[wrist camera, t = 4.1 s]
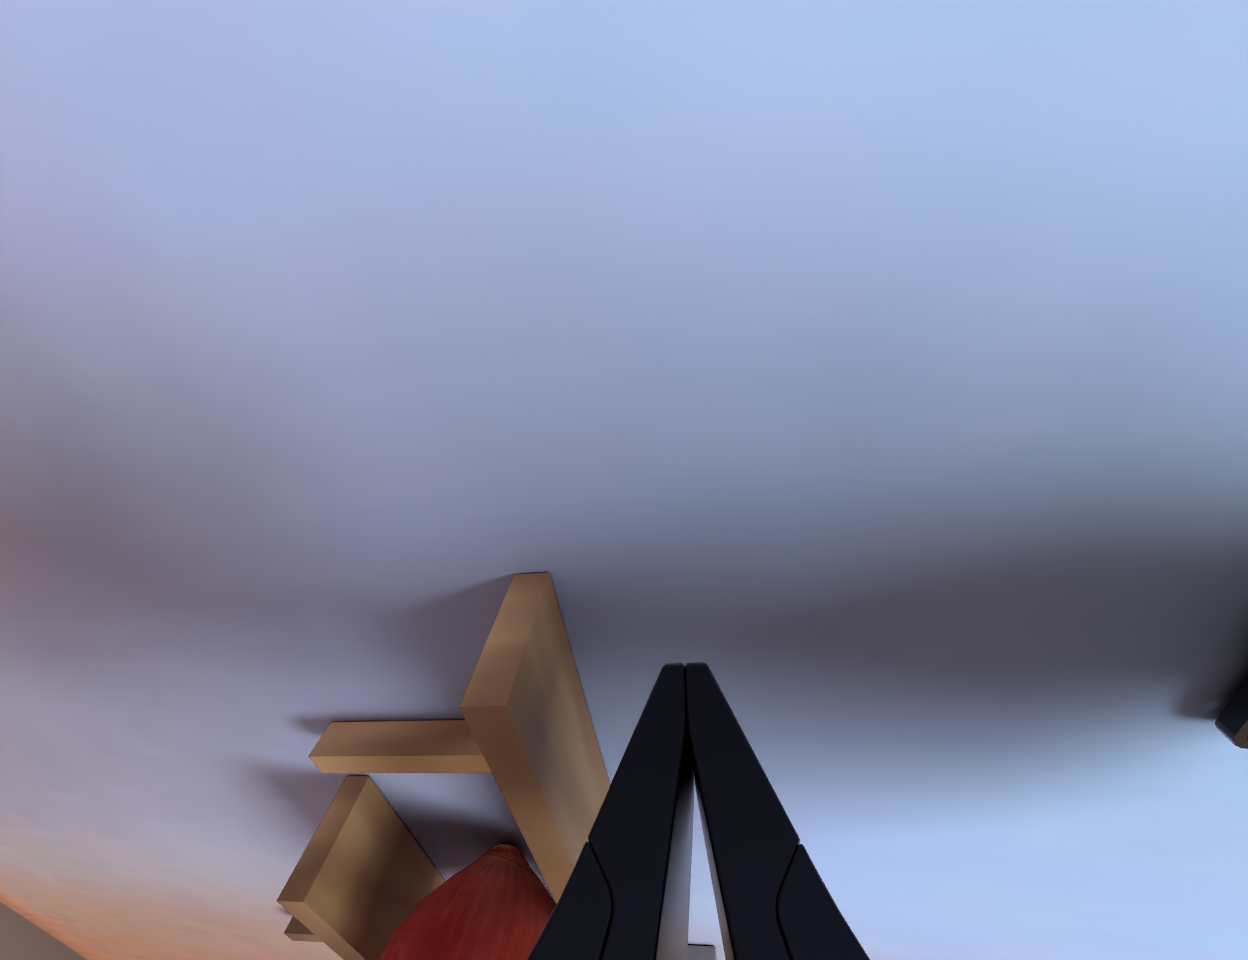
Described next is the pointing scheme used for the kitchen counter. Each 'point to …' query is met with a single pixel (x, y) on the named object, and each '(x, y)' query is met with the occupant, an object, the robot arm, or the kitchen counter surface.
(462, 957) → the onion
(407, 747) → the frame
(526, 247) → the kitchen counter surface
